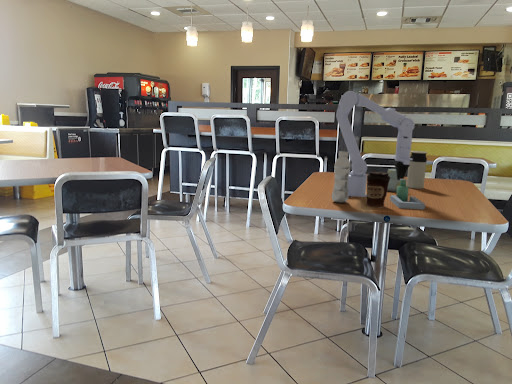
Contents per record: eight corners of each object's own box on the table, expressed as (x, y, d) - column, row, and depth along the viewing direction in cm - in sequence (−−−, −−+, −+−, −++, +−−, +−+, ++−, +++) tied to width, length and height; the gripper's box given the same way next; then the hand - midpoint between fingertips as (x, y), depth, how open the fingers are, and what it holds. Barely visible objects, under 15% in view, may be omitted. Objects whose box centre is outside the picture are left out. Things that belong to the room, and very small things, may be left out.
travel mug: (426, 189, 195) (430, 152, 191) (409, 188, 195) (413, 152, 191) (419, 186, 202) (423, 151, 199) (404, 185, 202) (407, 150, 199)
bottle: (397, 201, 161) (399, 178, 160) (394, 200, 165) (396, 178, 164) (409, 201, 160) (410, 179, 160) (405, 200, 165) (407, 179, 164)
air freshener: (393, 188, 193) (395, 168, 191) (407, 191, 186) (409, 170, 185) (377, 190, 188) (379, 169, 186) (391, 193, 181) (393, 171, 179)
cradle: (398, 208, 149) (399, 202, 149) (390, 200, 163) (390, 195, 162) (424, 210, 148) (425, 203, 148) (413, 202, 162) (414, 196, 162)
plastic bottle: (348, 201, 158) (353, 151, 155) (346, 204, 152) (351, 152, 148) (332, 199, 161) (336, 150, 157) (330, 203, 154) (334, 151, 150)
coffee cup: (383, 210, 146) (387, 175, 143) (361, 206, 150) (364, 172, 148) (389, 206, 153) (393, 172, 151) (368, 202, 157) (371, 170, 155)
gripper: (418, 149, 157) (414, 183, 160) (408, 146, 171) (405, 177, 174) (400, 148, 158) (396, 182, 160) (391, 145, 172) (388, 177, 175)
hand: (400, 179), depth 167 cm, fingers closed
